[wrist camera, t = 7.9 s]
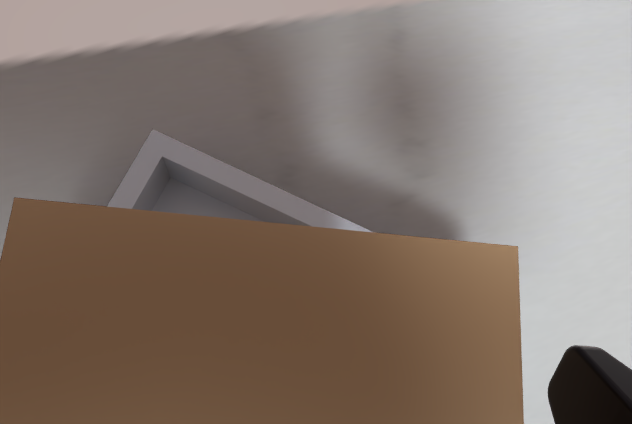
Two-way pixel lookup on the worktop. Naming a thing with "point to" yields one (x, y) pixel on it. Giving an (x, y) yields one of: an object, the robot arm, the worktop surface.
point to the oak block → (250, 322)
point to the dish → (211, 189)
